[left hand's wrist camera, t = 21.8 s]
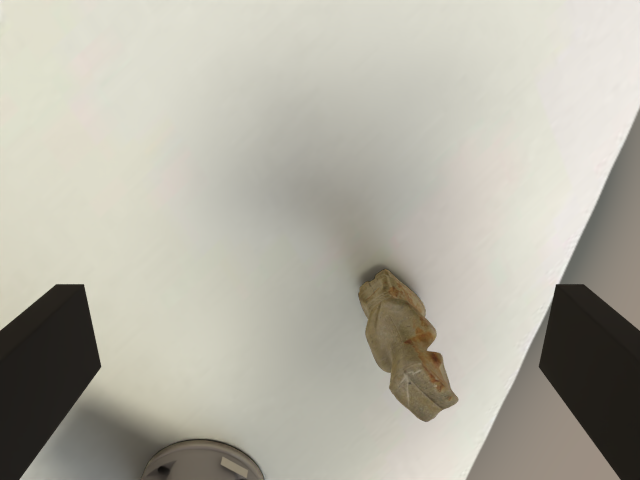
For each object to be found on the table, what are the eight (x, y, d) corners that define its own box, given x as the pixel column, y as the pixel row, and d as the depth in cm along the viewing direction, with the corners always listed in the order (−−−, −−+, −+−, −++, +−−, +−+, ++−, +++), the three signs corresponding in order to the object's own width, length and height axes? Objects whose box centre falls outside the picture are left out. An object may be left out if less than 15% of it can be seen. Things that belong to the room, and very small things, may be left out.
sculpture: (385, 332, 48) (412, 441, 34) (345, 284, 46) (356, 379, 32) (431, 303, 47) (478, 403, 33) (392, 252, 45) (424, 337, 31)
